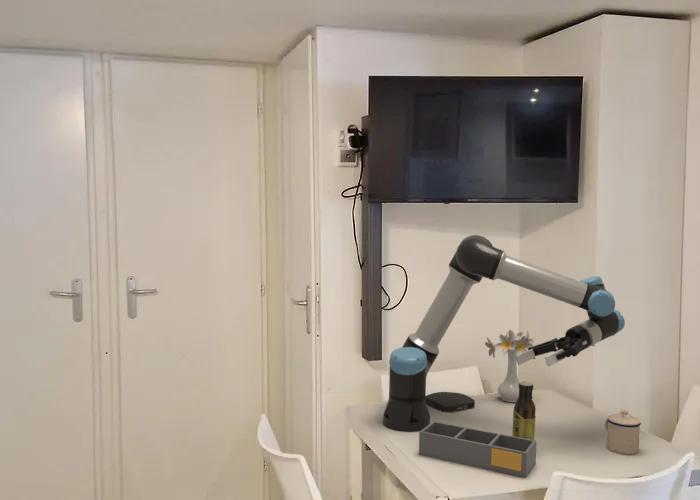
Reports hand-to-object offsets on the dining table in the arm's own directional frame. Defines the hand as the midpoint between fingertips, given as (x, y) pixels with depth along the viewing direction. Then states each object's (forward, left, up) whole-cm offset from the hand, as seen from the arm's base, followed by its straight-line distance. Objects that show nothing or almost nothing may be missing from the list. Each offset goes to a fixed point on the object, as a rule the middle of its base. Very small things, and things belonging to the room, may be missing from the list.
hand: (531, 361), depth 199 cm
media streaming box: (-33, +21, -25) cm, 46 cm away
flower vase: (-16, +37, -25) cm, 47 cm away
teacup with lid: (+24, +9, -25) cm, 36 cm away
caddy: (-9, -21, -24) cm, 34 cm away
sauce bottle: (0, -8, -25) cm, 26 cm away
